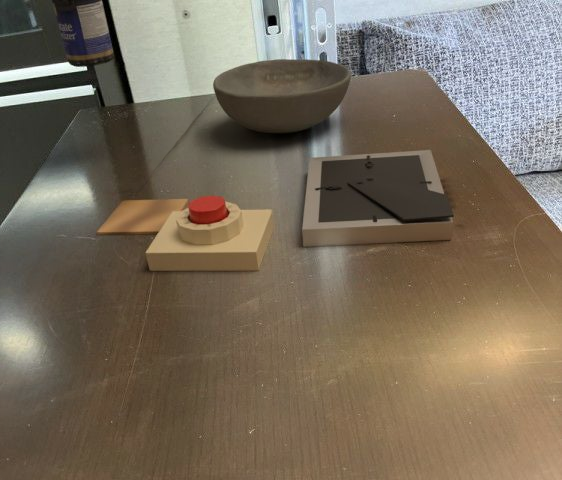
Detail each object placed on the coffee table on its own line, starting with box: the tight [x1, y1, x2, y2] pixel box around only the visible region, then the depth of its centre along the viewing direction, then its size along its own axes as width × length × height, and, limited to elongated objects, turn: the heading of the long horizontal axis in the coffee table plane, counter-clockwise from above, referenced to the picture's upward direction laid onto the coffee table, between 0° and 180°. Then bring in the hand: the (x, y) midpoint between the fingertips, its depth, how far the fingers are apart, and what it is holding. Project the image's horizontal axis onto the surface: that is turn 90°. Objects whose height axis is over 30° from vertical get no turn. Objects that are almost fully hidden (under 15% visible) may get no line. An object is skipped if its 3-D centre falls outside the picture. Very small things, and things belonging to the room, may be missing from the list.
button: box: [187, 195, 228, 225], centre depth 67 cm, size 4×4×2 cm
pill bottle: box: [51, 0, 115, 68], centre depth 80 cm, size 6×6×11 cm
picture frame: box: [301, 149, 455, 248], centre depth 74 cm, size 16×3×21 cm
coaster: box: [96, 198, 190, 236], centre depth 77 cm, size 9×9×1 cm
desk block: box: [144, 201, 275, 272], centre depth 68 cm, size 12×10×4 cm
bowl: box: [212, 58, 352, 134], centre depth 97 cm, size 21×21×8 cm
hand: (78, 5), depth 79 cm, fingers closed on pill bottle, 6 cm apart
